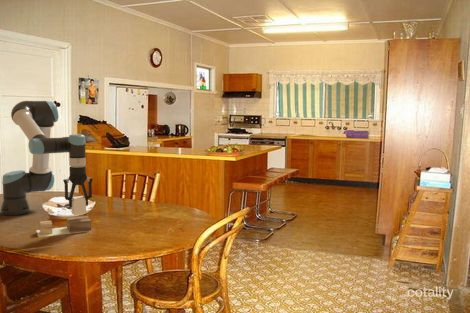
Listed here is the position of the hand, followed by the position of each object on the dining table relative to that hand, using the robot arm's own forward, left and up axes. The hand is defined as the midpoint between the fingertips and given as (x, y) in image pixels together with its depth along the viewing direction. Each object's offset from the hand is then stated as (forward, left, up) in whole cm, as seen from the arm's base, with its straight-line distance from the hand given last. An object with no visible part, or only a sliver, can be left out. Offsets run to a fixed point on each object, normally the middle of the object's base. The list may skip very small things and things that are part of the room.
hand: (78, 212), depth 213 cm
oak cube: (0, -15, -8) cm, 17 cm away
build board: (0, -7, -9) cm, 12 cm away
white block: (0, 0, 0) cm, 0 cm away
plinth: (0, 0, -8) cm, 8 cm away
